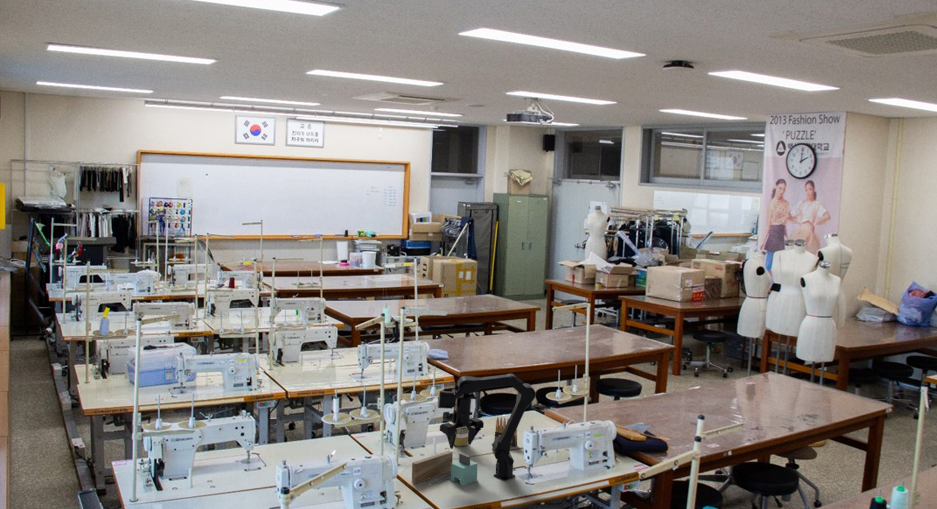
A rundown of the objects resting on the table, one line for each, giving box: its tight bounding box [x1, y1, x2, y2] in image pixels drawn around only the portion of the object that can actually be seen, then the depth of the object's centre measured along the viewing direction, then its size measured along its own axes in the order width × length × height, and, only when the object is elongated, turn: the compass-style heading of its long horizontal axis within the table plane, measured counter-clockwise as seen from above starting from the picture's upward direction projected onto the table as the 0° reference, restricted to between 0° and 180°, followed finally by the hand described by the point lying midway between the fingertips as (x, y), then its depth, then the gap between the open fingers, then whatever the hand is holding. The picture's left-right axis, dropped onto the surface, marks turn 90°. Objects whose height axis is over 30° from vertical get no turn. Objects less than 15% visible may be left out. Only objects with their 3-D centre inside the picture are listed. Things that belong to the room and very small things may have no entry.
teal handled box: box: [450, 452, 479, 486], centre depth 315 cm, size 7×8×10 cm
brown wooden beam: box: [411, 450, 453, 486], centre depth 316 cm, size 7×20×8 cm, turn 135°
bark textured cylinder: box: [452, 398, 468, 447], centre depth 354 cm, size 7×7×25 cm
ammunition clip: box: [494, 416, 518, 448], centre depth 357 cm, size 11×2×12 cm, turn 61°
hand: (460, 446), depth 317 cm, fingers open, 9 cm apart
